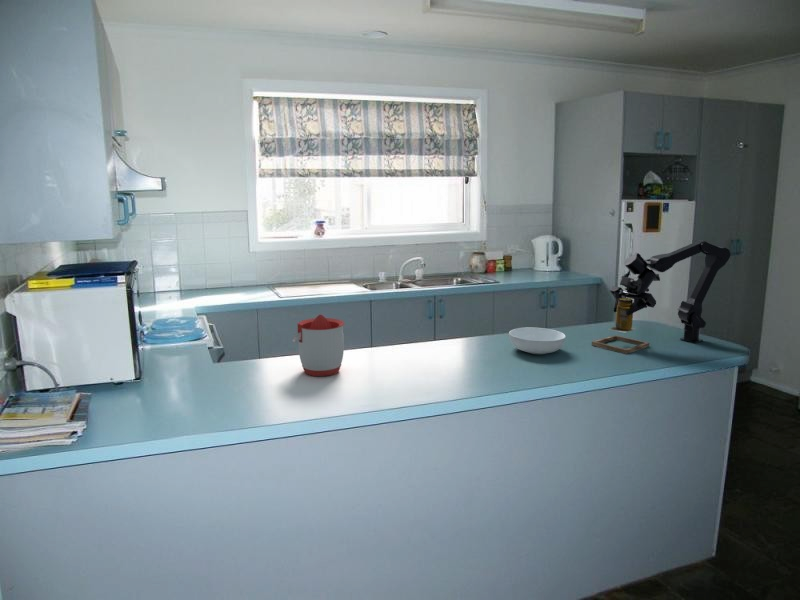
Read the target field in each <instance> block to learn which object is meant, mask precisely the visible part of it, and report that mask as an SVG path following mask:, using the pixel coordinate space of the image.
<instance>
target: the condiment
mask: <svg viewBox="0 0 800 600" xmlns="http://www.w3.org/2000/svg"><path fill="white" fill-rule="evenodd" d="M633 302H634V299H631V298H627V297H626V298H619V300H618V305H617V311H616V312H615V313H616V314H615V325H614V326H613V327H610V328H608V330H610V331H615V332H620V333H625V334H626V333H629V332H632V331H634V330H636V328H635V327H633V317H634V313H632V314H631V315H629V316H627V314H626V313H627V311H628V310H629V308H630V307H631V305H632V304H633Z"/></svg>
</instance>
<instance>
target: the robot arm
mask: <svg viewBox="0 0 800 600" xmlns="http://www.w3.org/2000/svg"><path fill="white" fill-rule="evenodd" d="M700 253H701V254H704V255H705V257H704V259H705V260H704V264H705V266H704V269H702V273H701V274H700V276H699V279H698V280H697V283H696V284H695V287H694V289H693V291H692V293H691V294H690V297H689V299H687V300H686V301H685V300H682V301H681V303H680V306H679V308H677V310H678V311H677V316H678V318H679V320H680V323H681V324H683V325H684V330H683V337H681V338H679V341H680V340H681V341H684V342H688V343H689V342H690V343H695V344H696V343H699V342H702V341H703V338H700V334H701V329H704V328H705V327H706V325H707V322H706V321H705V320H704V318H702V315H703V314H702V313H703V304H704V301H705V298H706V297H707V294H708V292H709V290H710V288H711V285H712V284H713V282H714V280H715V278H716V275H717V274H718V272H719V270H721V268H724V267H725V266H726V264H727V263H728V261H729V260H730V258H731V251H730V249H729V248H727V247H723V246H719V245H718V246H716V245H715V244H712V243H709V242H708V241H705V240H699V239H698V240H696V241H694V242H692V243H690V244H688V245H686V246H682V247H681V248H678V249H676V250H674V251H672V252H668V253H662V254H661V253H660V254H656V255H653V256H651V257H650V258H647V259H644V257H642V255H641V254H640V253H639V252H635V253H634V254H632V255H629V256H628V257H627V258H625V260H624V261H623V265H624V266H625V267H626V269H627V270H628V271H630V273H631V274H632V275H637V277H634V278H631V277H626V276H622V277H621V279H620V282H619V285H620V286H614V285H613V286H612V287H611V288H610V289H609V292H610V293H611V295H612V297H613V298H614V299H615V302H614V305H613V312H614V313H616V311H617V305H618V300H619V298H630V299H632V300H633V304H632V305H631V307H630V308H629V310H628V311H627V313H626V314H627V316H629V315H631V314H632V313H633V314H635V313H637V312H638V311H641V310H644V309H647V308H649V307H650V308H652V309H653V308H655V306H656V305H657V300H656V299H655V297H654V295H653V294H652V293H650V292H649V291H650V285H652V283H653V282H658V281H661V278H660V274H659V273H665V272H667V271H668V270H670V269H671V268H673V267H674V266H675V264H677V263H679V262H681V261H684V260H686V259H688V258H691V257H693V256H696V255H697V254H700ZM656 272H657V273H656ZM658 272H659V273H658ZM621 286H623V287H624V289H623V288H622V287H621ZM624 290H625V291H624Z"/></svg>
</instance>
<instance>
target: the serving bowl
mask: <svg viewBox="0 0 800 600" xmlns="http://www.w3.org/2000/svg"><path fill="white" fill-rule="evenodd" d="M508 335H509V336H508V337H509V340H510V342H511V345H513V347H515V348H516V349H518V350H519V351H523V352H525V353H528V354H533V355H545V354H550V353H554V352H557V351H558V350H560V349H561V348H562V347H563V346H564V344H565V343H566V338H567V336H566V335H565V333H563V332H562V331H558V330H555V329H552V328H545V327H544V328H543V327H534V326H533V327H526V326H525V327H518V328H514V329H511V330H510V331H509V332H508Z"/></svg>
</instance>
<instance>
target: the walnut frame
mask: <svg viewBox="0 0 800 600" xmlns="http://www.w3.org/2000/svg"><path fill="white" fill-rule="evenodd" d="M613 341H621V342H624V343H628V344H633V345H635V346H632V347H628V348H623V347H618V346H614V345H610V344H606V343H608V342H613ZM591 346H594V347H598V348H600V349H605V350H609V351H612V352H613V351H614V352H617V353H620V354H625V355H627V354H630V353H634V352H637V351H641V350H643V349H647V348H649V347H650V342H647V341H643V340H639V339H635V338H630V337H624V336H621V335H616V334H615V335H611V336H608V337H607V336H606V337H603V338H600V339H597V340H592V341H591ZM646 347H647V348H646Z"/></svg>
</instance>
